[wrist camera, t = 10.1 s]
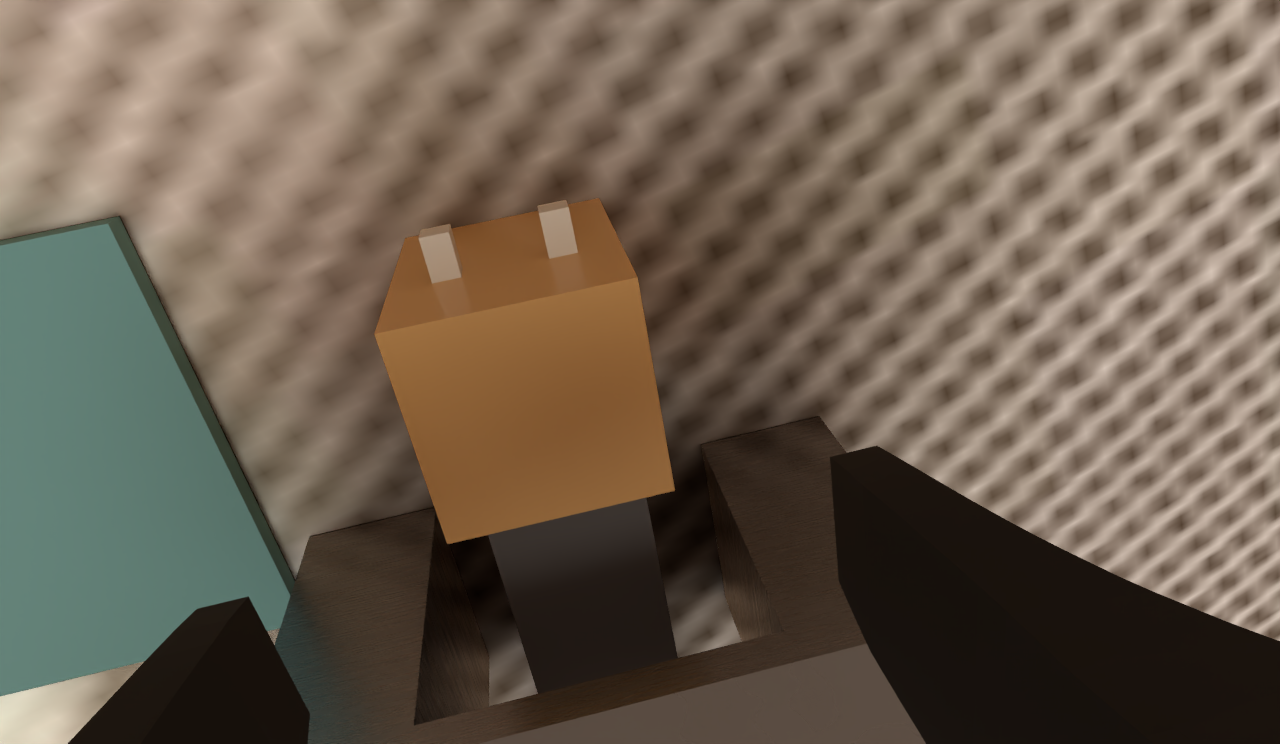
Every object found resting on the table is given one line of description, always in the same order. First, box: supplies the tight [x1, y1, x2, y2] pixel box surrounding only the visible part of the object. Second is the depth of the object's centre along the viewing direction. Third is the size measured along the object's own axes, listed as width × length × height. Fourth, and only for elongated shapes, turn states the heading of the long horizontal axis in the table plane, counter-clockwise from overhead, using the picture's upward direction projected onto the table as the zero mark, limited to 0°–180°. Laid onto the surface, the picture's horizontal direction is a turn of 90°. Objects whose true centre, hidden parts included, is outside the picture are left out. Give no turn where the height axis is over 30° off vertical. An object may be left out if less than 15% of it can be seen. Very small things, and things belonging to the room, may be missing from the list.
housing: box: [275, 417, 926, 744], centre depth 17 cm, size 5×12×7 cm, turn 100°
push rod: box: [488, 498, 678, 694], centre depth 19 cm, size 10×3×4 cm, turn 9°
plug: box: [374, 198, 675, 544], centre depth 15 cm, size 5×4×5 cm
